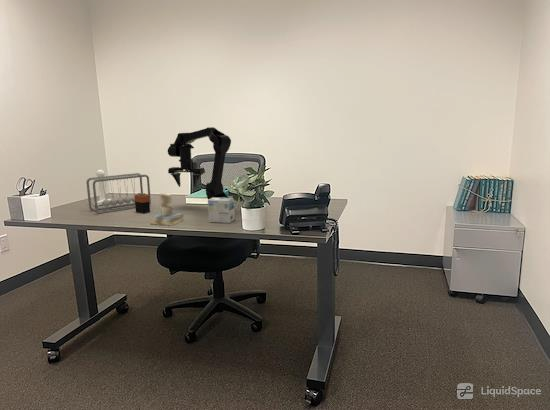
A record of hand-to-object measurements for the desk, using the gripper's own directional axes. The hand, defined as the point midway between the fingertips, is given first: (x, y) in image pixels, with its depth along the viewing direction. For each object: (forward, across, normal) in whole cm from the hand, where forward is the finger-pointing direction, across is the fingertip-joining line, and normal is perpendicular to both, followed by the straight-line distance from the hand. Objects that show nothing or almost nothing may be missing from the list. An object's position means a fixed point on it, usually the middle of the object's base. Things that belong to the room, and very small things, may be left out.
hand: (187, 186), depth 216 cm
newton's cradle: (+12, +37, +7) cm, 40 cm away
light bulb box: (+12, -28, +20) cm, 37 cm away
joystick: (+12, +53, 0) cm, 54 cm away
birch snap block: (+9, -4, +28) cm, 30 cm away
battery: (+12, +20, +12) cm, 26 cm away
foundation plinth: (+12, -4, +28) cm, 31 cm away
